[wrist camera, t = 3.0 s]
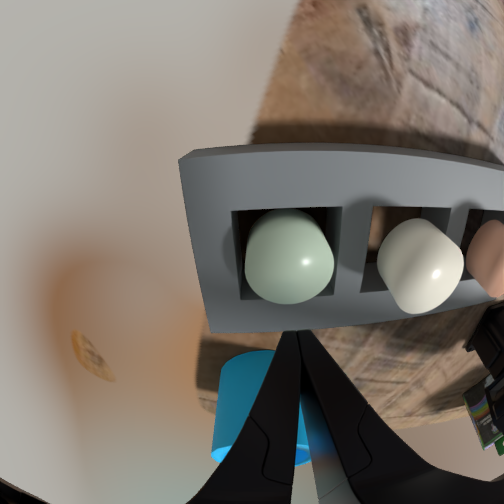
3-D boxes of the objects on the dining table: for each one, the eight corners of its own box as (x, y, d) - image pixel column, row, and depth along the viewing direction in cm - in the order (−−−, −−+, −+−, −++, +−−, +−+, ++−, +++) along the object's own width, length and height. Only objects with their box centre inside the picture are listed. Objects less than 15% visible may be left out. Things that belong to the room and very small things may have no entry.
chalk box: (465, 405, 31) (486, 465, 19) (461, 394, 28) (487, 465, 15) (502, 377, 28) (528, 434, 15) (504, 360, 25) (536, 427, 12)
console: (505, 166, 12) (532, 179, 10) (477, 278, 17) (495, 299, 14) (193, 149, 13) (178, 159, 11) (217, 301, 18) (210, 333, 16)
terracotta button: (510, 220, 11) (533, 237, 9) (494, 272, 13) (512, 292, 11) (475, 219, 11) (501, 238, 9) (458, 278, 13) (477, 301, 11)
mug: (201, 369, 22) (187, 451, 15) (278, 336, 20) (284, 434, 13) (275, 416, 27) (276, 478, 20) (340, 393, 24) (352, 461, 17)
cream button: (446, 218, 11) (472, 239, 9) (429, 282, 13) (448, 308, 11) (383, 218, 11) (406, 242, 9) (371, 288, 13) (386, 318, 11)
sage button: (325, 206, 13) (337, 226, 11) (321, 274, 15) (329, 301, 13) (244, 210, 13) (241, 230, 11) (249, 277, 15) (248, 306, 13)
